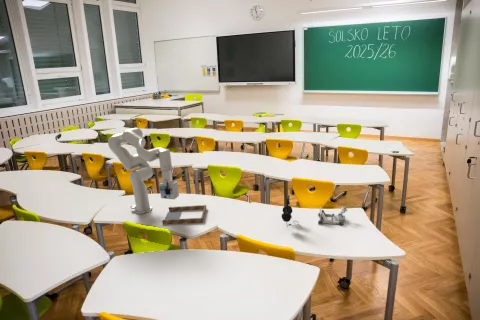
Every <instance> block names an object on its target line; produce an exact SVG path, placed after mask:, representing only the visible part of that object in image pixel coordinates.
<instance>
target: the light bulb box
mask: <svg viewBox="0 0 480 320" xmlns="http://www.w3.org/2000/svg"><path fill="white" fill-rule="evenodd" d="M158 185H159V193H160V198H161V199H165V200H176V199H177V198H179V196H180V192H179V184H178V181H177V180H172V182H171V184H170V185H169V189H170V193H171V194H170V195H166V194H165V186H164V185H163V183H162V181H161V182H160V183H159V184H158Z"/></svg>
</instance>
